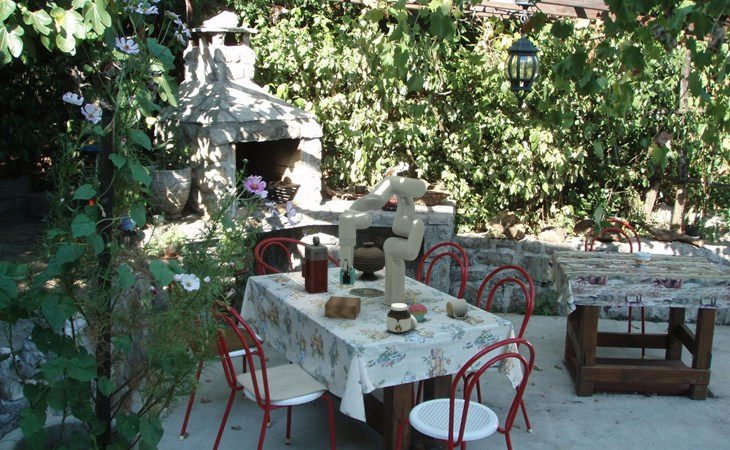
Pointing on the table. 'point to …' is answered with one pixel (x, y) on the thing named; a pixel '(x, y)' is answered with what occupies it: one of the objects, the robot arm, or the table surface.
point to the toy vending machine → (315, 267)
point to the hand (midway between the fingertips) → (347, 281)
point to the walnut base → (342, 307)
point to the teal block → (352, 277)
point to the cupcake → (417, 310)
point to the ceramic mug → (457, 308)
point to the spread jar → (400, 319)
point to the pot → (368, 261)
